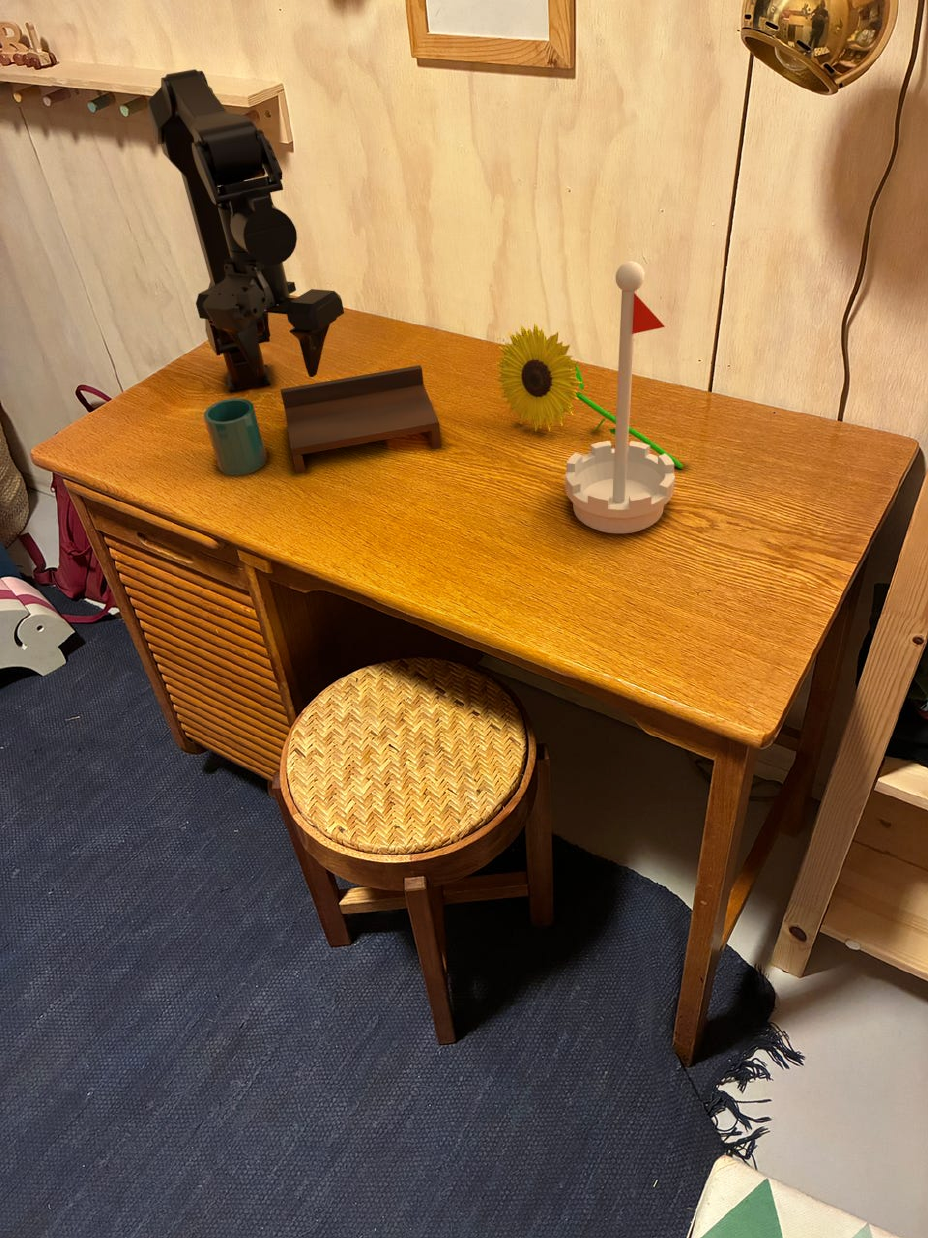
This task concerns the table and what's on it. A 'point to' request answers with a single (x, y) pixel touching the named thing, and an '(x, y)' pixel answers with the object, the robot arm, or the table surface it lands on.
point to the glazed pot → (235, 436)
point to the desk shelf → (358, 411)
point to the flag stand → (622, 442)
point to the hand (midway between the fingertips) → (284, 372)
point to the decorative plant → (546, 382)
